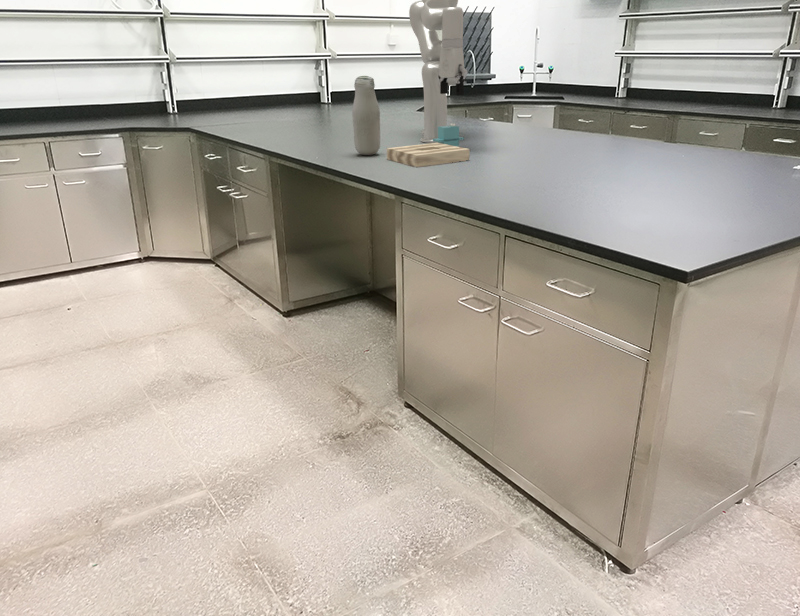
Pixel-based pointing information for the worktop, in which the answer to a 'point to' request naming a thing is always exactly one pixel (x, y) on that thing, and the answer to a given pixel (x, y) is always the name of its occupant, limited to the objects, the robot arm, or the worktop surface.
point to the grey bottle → (366, 117)
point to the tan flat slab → (427, 154)
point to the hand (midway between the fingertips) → (451, 94)
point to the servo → (449, 135)
